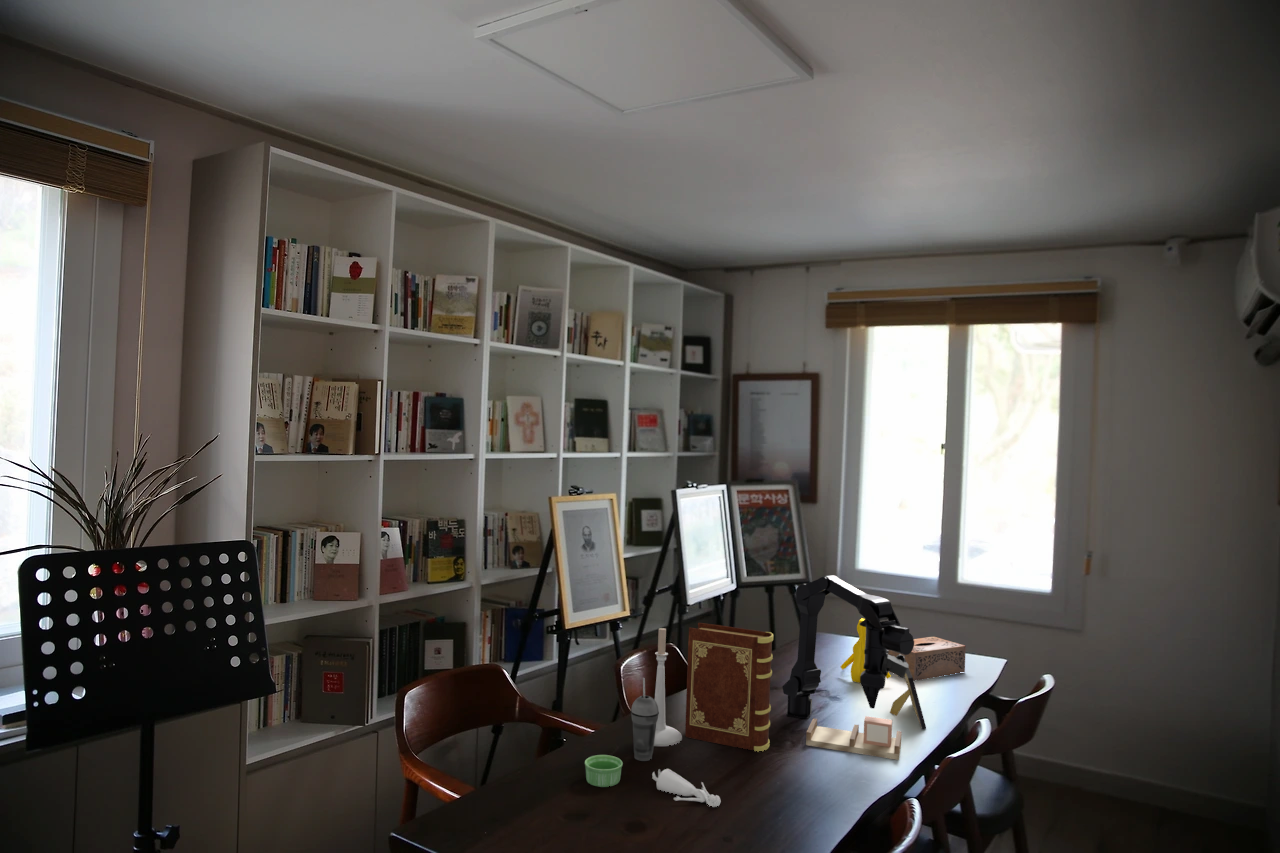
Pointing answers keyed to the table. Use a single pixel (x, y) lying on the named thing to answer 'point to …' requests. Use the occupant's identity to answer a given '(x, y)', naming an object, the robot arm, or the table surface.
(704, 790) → the woman figurine
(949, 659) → the tissue box cover
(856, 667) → the figure statuette
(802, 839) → the table surface
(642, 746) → the beverage cup
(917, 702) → the picture frame
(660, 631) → the candlestick
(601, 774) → the ramekin
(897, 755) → the ledge
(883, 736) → the frame block
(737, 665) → the decorative book
